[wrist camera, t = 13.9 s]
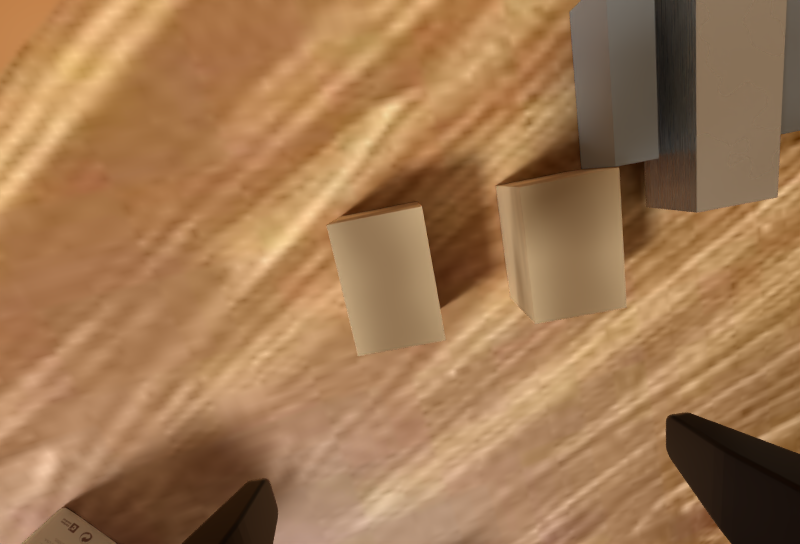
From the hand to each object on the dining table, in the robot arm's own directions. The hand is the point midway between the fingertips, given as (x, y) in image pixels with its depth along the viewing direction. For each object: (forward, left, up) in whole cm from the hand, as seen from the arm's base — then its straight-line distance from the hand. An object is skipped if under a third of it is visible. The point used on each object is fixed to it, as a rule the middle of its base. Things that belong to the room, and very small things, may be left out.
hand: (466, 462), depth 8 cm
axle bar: (-13, -9, -11) cm, 20 cm away
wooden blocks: (-2, -2, -12) cm, 13 cm away
